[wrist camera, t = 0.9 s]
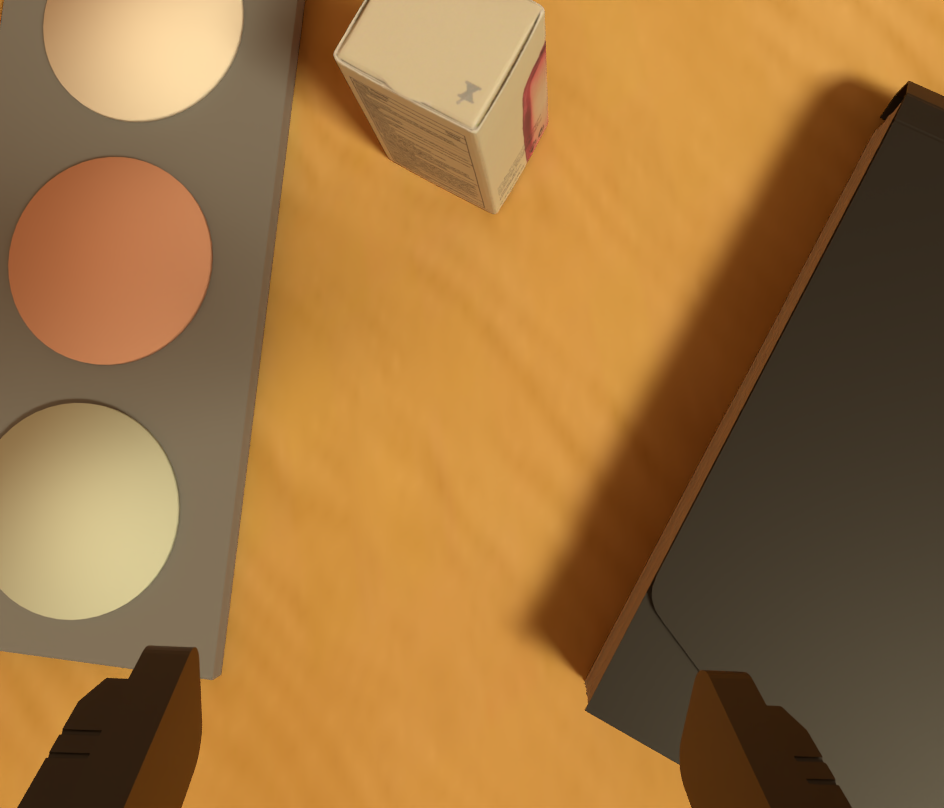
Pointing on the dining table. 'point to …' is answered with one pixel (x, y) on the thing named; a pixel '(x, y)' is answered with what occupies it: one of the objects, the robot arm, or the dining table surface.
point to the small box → (452, 88)
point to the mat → (133, 312)
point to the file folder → (821, 503)
